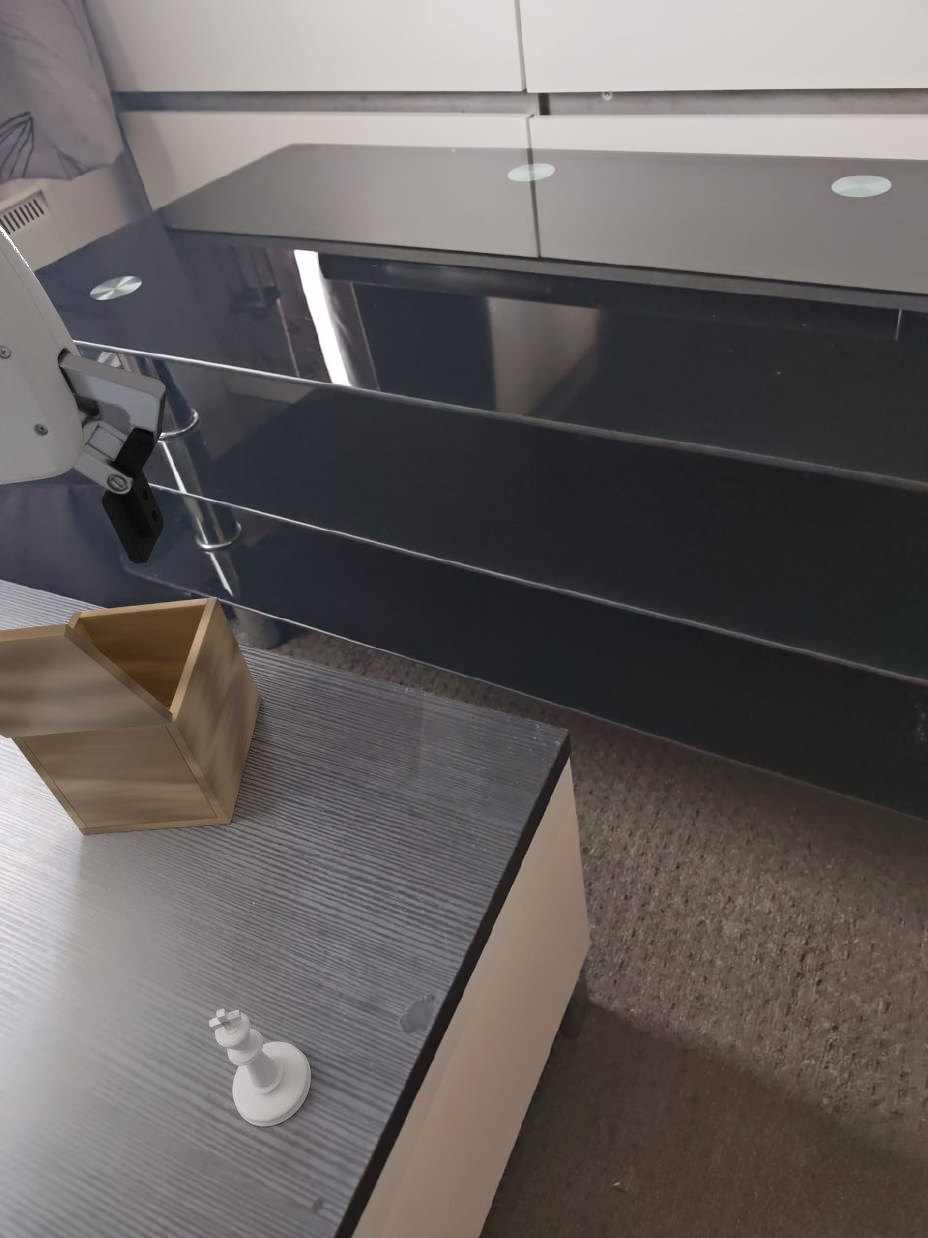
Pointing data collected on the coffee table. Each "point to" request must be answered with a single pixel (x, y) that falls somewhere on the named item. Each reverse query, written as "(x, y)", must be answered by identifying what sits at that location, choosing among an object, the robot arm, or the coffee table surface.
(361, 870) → the coffee table surface
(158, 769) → the box
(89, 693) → the lid
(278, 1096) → the chess piece
